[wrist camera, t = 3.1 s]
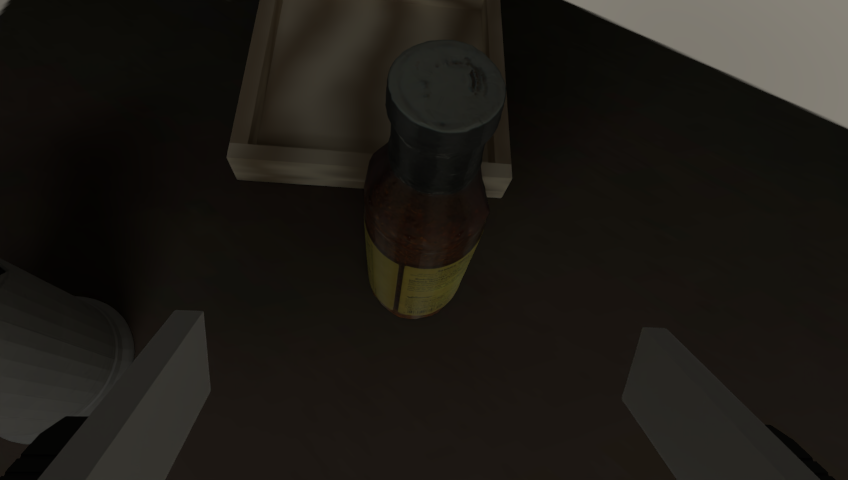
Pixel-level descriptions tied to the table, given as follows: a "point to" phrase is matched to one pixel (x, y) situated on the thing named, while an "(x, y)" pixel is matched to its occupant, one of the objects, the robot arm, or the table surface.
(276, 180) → the birch tray
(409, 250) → the sauce bottle
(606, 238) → the table surface
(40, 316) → the glass holder
